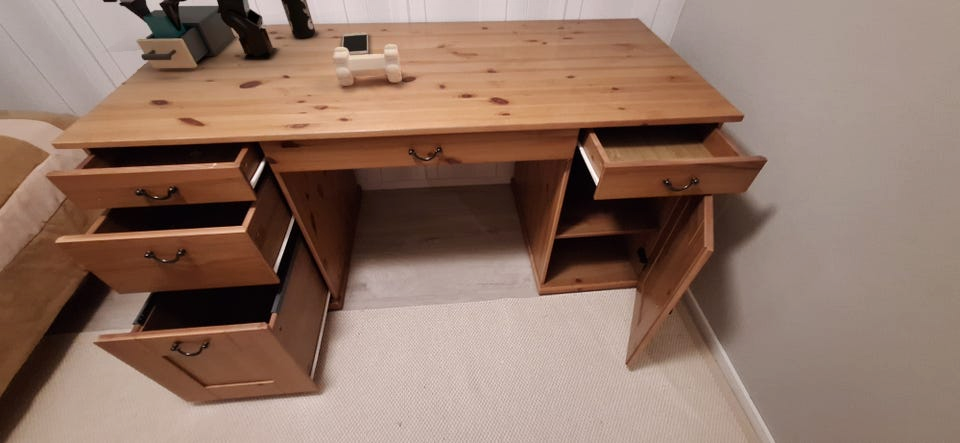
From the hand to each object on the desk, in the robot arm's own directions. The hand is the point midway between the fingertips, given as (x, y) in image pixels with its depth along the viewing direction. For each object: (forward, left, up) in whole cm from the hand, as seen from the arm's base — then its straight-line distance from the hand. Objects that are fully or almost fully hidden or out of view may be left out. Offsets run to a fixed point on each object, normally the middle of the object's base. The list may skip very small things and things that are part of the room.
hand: (169, 30), depth 95 cm
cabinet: (0, -10, -8) cm, 13 cm away
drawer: (0, +1, -7) cm, 7 cm away
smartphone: (-43, -9, -8) cm, 45 cm away
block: (0, 0, -1) cm, 1 cm away
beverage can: (-26, -18, -8) cm, 33 cm away
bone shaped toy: (-51, +13, -8) cm, 53 cm away
